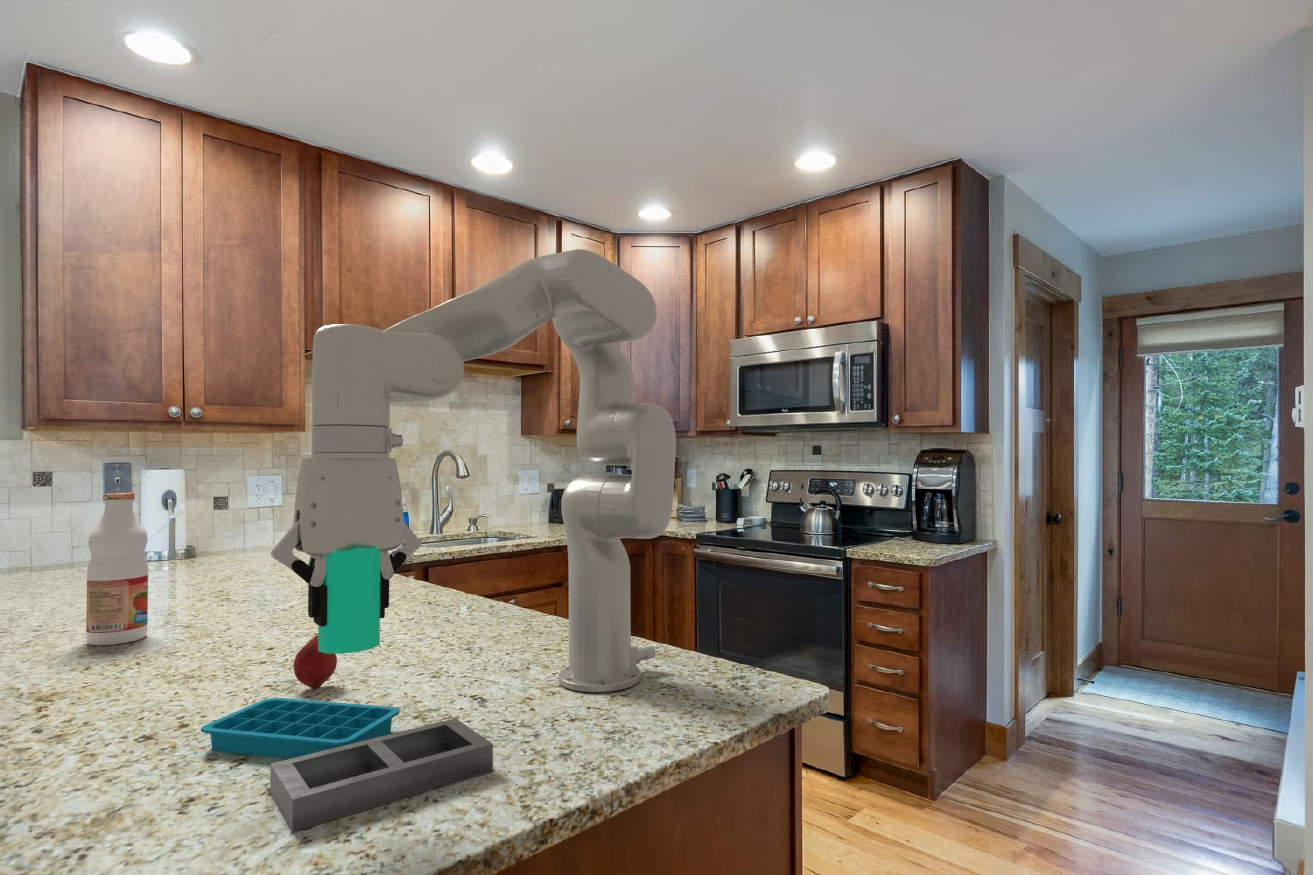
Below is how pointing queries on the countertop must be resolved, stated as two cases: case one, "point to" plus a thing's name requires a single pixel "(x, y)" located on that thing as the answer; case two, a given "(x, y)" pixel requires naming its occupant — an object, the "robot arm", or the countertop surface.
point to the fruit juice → (117, 575)
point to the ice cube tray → (297, 727)
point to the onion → (314, 665)
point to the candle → (351, 602)
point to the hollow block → (377, 772)
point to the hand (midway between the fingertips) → (349, 618)
